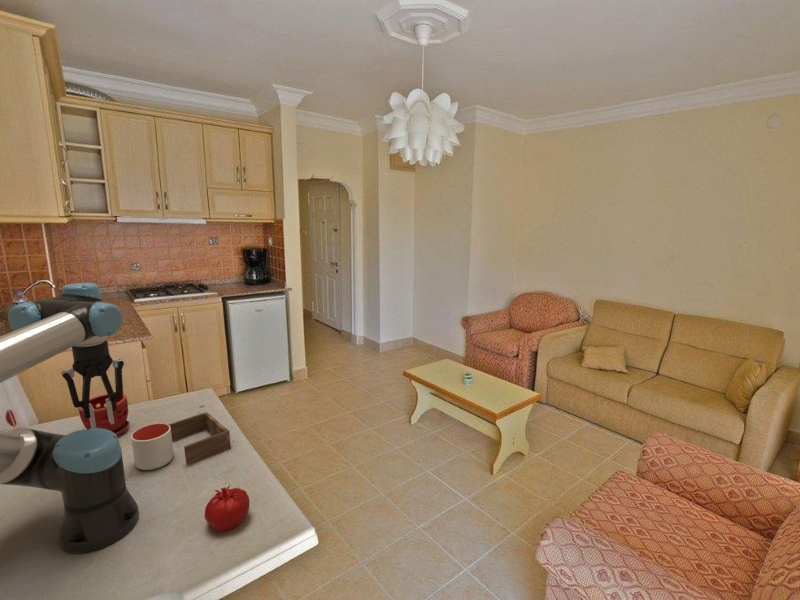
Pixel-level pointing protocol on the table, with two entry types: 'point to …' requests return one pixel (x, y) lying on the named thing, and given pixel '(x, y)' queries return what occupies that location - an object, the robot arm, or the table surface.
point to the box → (204, 446)
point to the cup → (152, 446)
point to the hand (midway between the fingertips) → (102, 424)
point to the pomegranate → (227, 508)
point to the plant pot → (102, 414)
